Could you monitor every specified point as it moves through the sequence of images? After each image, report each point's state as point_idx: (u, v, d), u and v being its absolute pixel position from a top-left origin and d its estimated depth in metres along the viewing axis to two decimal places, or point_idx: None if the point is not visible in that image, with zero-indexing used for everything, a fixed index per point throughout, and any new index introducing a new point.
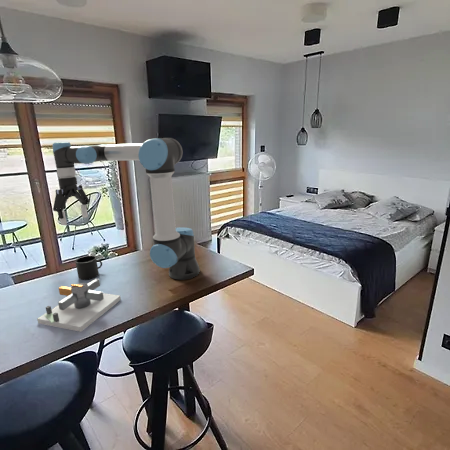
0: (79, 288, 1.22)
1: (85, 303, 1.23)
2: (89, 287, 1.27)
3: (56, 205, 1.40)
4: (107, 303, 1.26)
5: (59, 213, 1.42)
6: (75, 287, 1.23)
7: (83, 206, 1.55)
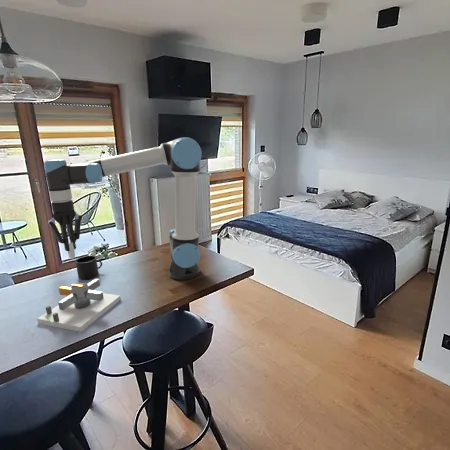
0: (79, 288, 1.22)
1: (85, 303, 1.23)
2: (89, 287, 1.27)
3: (57, 238, 1.22)
4: (107, 303, 1.26)
5: (65, 245, 1.25)
6: (75, 287, 1.23)
7: None
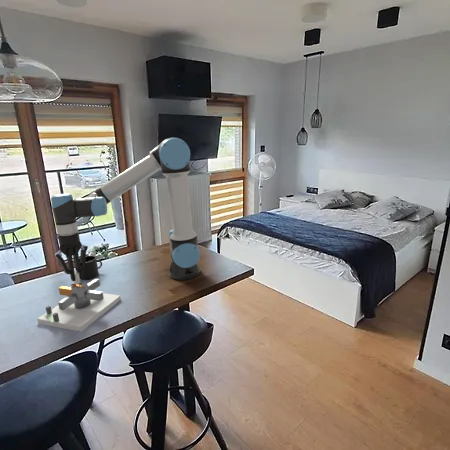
0: (79, 288, 1.22)
1: (85, 303, 1.23)
2: (89, 287, 1.27)
3: (64, 269, 1.26)
4: (107, 303, 1.26)
5: (71, 275, 1.28)
6: (75, 287, 1.23)
7: None
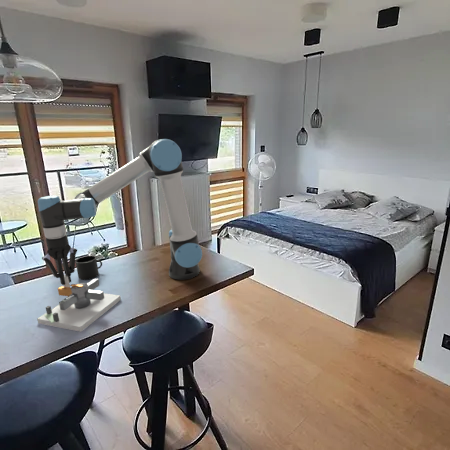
0: (79, 288, 1.22)
1: (86, 303, 1.24)
2: (89, 287, 1.28)
3: (53, 273, 1.23)
4: (107, 303, 1.26)
5: (60, 279, 1.26)
6: (75, 287, 1.23)
7: None
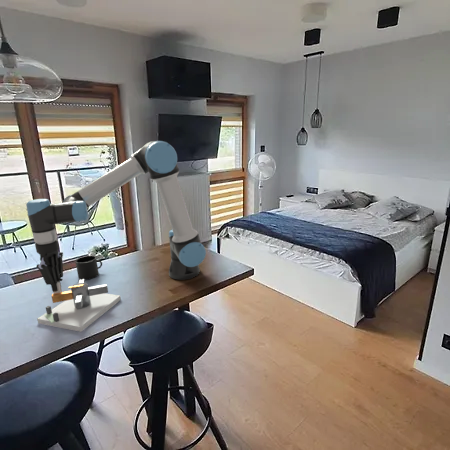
0: (82, 287, 1.23)
1: (89, 301, 1.25)
2: None
3: (48, 280, 1.17)
4: (107, 303, 1.26)
5: (53, 286, 1.20)
6: (76, 288, 1.22)
7: None
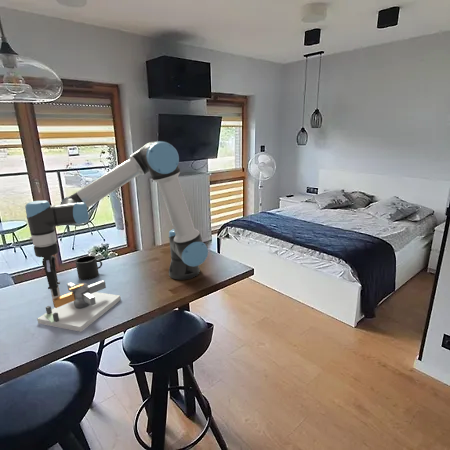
0: (84, 286, 1.24)
1: None
2: None
3: (53, 283, 1.14)
4: (107, 303, 1.26)
5: (55, 290, 1.17)
6: (78, 288, 1.22)
7: (55, 288, 1.19)
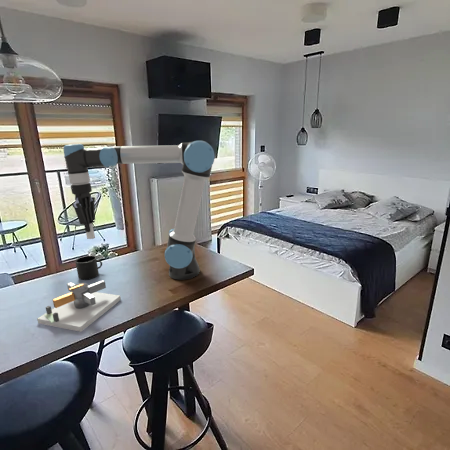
0: (84, 286, 1.24)
1: None
2: None
3: (82, 219, 1.28)
4: (107, 303, 1.26)
5: (86, 226, 1.31)
6: (78, 288, 1.22)
7: None
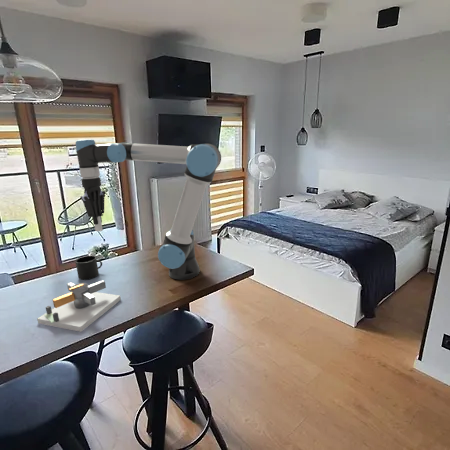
0: (84, 286, 1.24)
1: None
2: None
3: (89, 212, 1.33)
4: (107, 303, 1.26)
5: (94, 219, 1.36)
6: (78, 288, 1.22)
7: None
